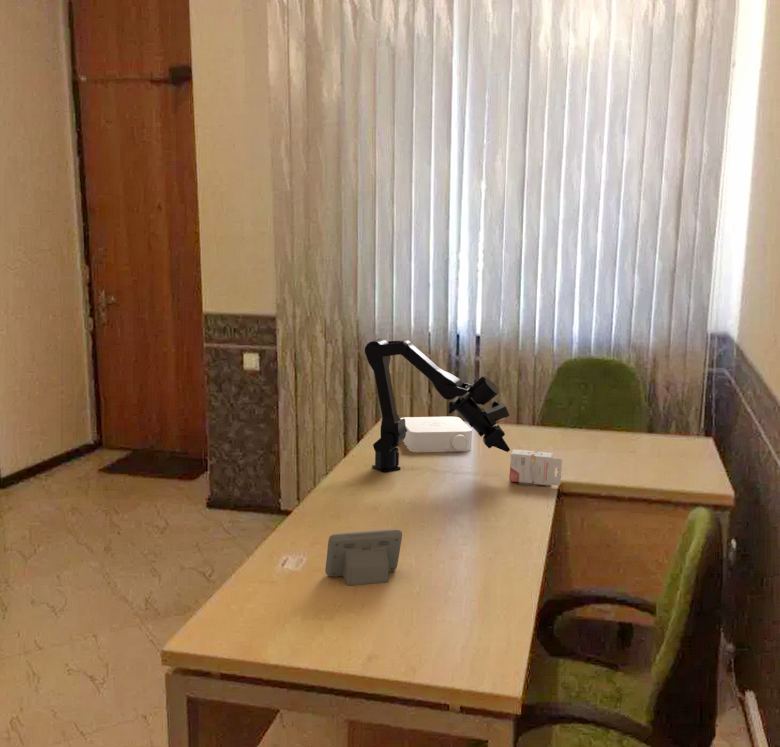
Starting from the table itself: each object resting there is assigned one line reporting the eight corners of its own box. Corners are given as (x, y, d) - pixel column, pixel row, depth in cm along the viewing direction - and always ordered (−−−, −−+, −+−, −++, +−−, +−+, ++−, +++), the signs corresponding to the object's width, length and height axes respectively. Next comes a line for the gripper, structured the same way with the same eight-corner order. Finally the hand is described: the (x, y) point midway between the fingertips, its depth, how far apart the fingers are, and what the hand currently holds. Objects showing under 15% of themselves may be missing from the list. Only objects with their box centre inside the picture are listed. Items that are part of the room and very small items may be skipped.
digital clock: (399, 568, 194) (400, 522, 192) (402, 585, 185) (404, 537, 183) (325, 568, 192) (325, 522, 190) (325, 586, 184) (325, 538, 182)
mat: (519, 485, 254) (520, 483, 254) (512, 473, 266) (512, 471, 266) (547, 485, 255) (547, 483, 255) (538, 473, 267) (538, 471, 266)
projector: (411, 454, 285) (411, 433, 283) (398, 436, 306) (399, 417, 305) (474, 453, 288) (474, 432, 287) (457, 435, 310) (458, 416, 309)
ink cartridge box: (511, 476, 261) (561, 481, 257) (508, 481, 256) (560, 487, 252) (512, 448, 259) (563, 453, 255) (510, 453, 254) (562, 458, 250)
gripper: (498, 401, 246) (535, 440, 249) (488, 388, 264) (522, 424, 267) (469, 428, 247) (506, 467, 250) (461, 413, 265) (495, 449, 268)
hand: (508, 450), depth 258 cm, fingers closed
